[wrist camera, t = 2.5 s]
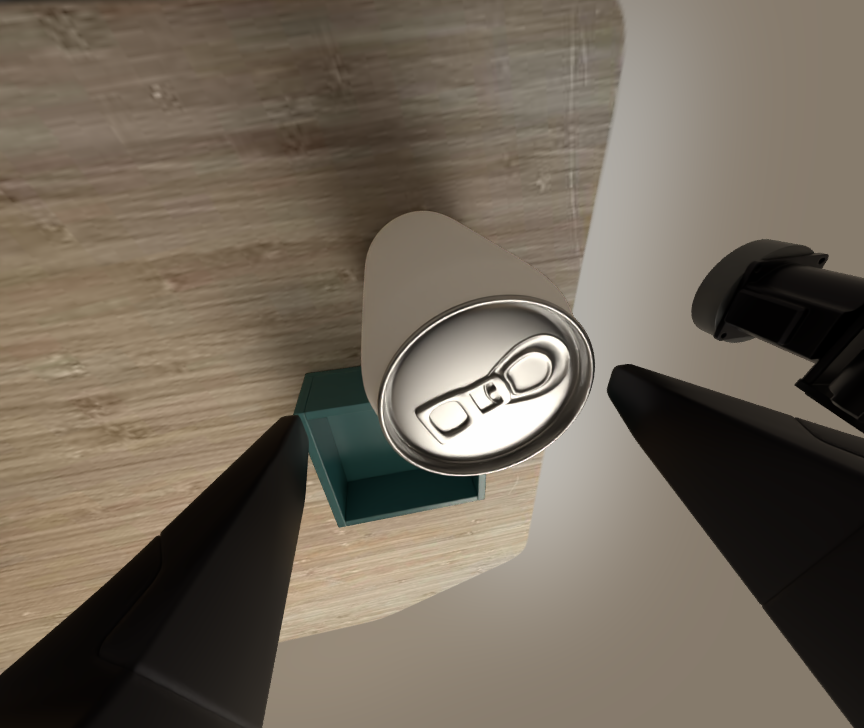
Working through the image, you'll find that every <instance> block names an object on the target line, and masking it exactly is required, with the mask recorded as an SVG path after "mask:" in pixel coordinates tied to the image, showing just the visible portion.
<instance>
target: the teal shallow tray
mask: <svg viewBox="0 0 864 728" xmlns="http://www.w3.org/2000/svg"><path fill="white" fill-rule="evenodd" d="M293 415H298V416H299V417H300V418H301V420H302V423H303V426H304V428H305V431H306V433H307V436H308V440H309V451H308V452H309V455H310V457H311V460H312V462H313V465H314V467H315V470H316V472H317V475H318V477H319V480H320V482H321V485H322V487H323V490H324V492H325V495H326V497H327V500H328V502H329V505H330V507H331V510H332V512H333V515H334V517H335V520H336V522H337V525H338V527H339V528H340V527H345V526H346V525H347V526H350V525H355V524H361V523H366V522H371V521H376V520H381V519H386V518H391V517H396V516H401V515H407V514H412V513H417V512H422V511H427V510H432V509H437V508H442V507H447V506H453V505H458V504H463V503H468V502H473V501H477V500H483V499H485V487H486V474H483V475H475V476H448V475H441V474H436V473H432V472H429V471H426V470H423V469H421V468H419V467H416V466H414V465H413V464H411V463H409V462H408V461H406V460H405V459H403V458H402V457H401V456H400V455H399V454H398V453H397V452H396V451H395V450H394V449H393V448H392V447H391V446H390V444H389V443H388V441H387V440H386V438H385V436H384V434H383V432H382V429H381V426H380V423H379V418H378V415H377V414H376V413H375V411H374V409H373V408H372V406H371V404H370V402H369V400H368V398H367V395H366V392H365V389H364V384H363V378H362V370H361V366H357V367H350V368H343V369H336V370H329V371H321V372H314V373H307V374H305V378H304V381H303V384H302V387H301V391H300V394H299V397H298V400H297V404H296V407H295V410H294V413H293Z"/></svg>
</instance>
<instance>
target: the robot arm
mask: <svg viewBox="0 0 864 728" xmlns="http://www.w3.org/2000/svg"><path fill="white" fill-rule="evenodd" d="M827 260H828V254H823V253H813V254H805V255H796V256H788V257H779V258H771V259H762V260H755V261H753V262H751V263H750V264H749V265H748V266H747V268H746V270H745V272H744V274H743V276H742V278H741V280H740V282H739V284H738V286H737V288H736V290H735V292H734V294H733V296H732V299H731V301H730V303H729V305H728V307H727V309H726V311H725V313H724V315H723V317H722V319H721V321H720V323H719V325H718V327H717V329H716V331H715V333H714V338H715V339H717V340H719V341H723V340H730V339H736V338H743V337H750V336H753V337H756V338H758V339H760V340H762V341H765V342H767V343H770V344H772V345H774V346H776V347H778V348H781V349H783V350H785V351H788V352H790V353H792V354H794V355H797V356H799V357H801V358H804V359H806V360H808V361H811V362H813V363H815V365H814V366H813V367H812V368H811V369H810V370H809V371H808V372H807V374H806V375H805V376H804V377H803V378H802V379H799V380H798V381H797V382H796V383H795V386H796V387H798V388H799V389H801V390H802V391H804V392H805V394H806V395H807V396H809V397H810V398H812V399H813V400H815V401H816V402H818V403H819V404H821V405H822V406H824V407H825V408H827V409H828V410H830V411H831V412H833V413H834V414H836V415H837V416H839V417H840V418H842V419H843V420H845V421H846V422H847V423H849V424H850V425H852V426H854V427H855V428H856V429H858V430H859V431H861V432H863V433H864V278H861V277H856V276H852V275H847V274H843V273H838V272H834V271H829V270H825V269H822V268H823V266H824V264H825V263H826V261H827ZM607 393H608V396H609V398H610V400H611V401H612V403H613V404H614V406H615V408H616V409H617V411H618V412H619V414H620V416H621V417H622V419H623V421H624V422H625V424H626V425H627V427H628V429H629V430H630V432H631V433H632V435H633V437H634V438H635V440H636V441H637V442H638V444H639V445H640V447H641V448H642V449H643V450H644V452H645V453H646V454H647V456H648V457H649V458H650V460H651V461H652V462H653V464H654V465H655V466H656V468H657V469H658V470H659V471H660V473H661V474H662V475H663V477H664V478H665V479H666V481H667V482H668V483H669V485H670V486H671V487H672V489H673V490H674V491H675V493H676V494H677V495H678V497H679V498H680V499H681V501H682V502H683V503H684V504H685V506H686V507H687V508H688V510H689V511H690V512H691V514H692V515H693V516H694V518H695V519H696V520H697V522H698V523H699V524H700V525H701V527H702V528H703V529H704V531H705V532H706V533H707V535H708V536H709V537H710V539H711V540H712V541H713V543H714V544H715V545H716V547H717V548H718V549H719V550H720V552H721V553H722V554H723V556H724V557H725V558H726V560H727V561H728V562H729V564H730V565H731V566H732V568H733V569H734V570H735V572H736V573H737V574H738V576H739V577H740V578H741V580H742V581H743V582H744V583H745V585H746V586H747V587H748V589H749V590H750V591H751V593H752V594H753V595H754V596H755V598H756V599H757V601H758V602H759V603H760V604H761V605H762V607H763V609H764V610H765V612H766V613H767V614H768V616H769V617H770V618H771V620H772V621H773V622H774V623H775V624H776V626H777V627H778V629H779V630H780V631H781V633H782V634H783V635H784V637H785V638H786V639H787V641H788V642H789V643H790V644H791V646H792V647H793V649H794V650H795V651H796V652H797V653H798V655H799V656H800V658H801V659H802V660H803V661H804V663H805V664H806V666H807V667H808V668H809V670H810V671H811V672H812V673H813V675H814V676H815V678H816V679H817V680H818V682H819V683H820V684H821V685H822V687H823V688H824V689H825V691H826V692H827V693H828V695H829V696H830V697H831V699H832V700H833V701H834V702H835V704H836V705H837V707H838V708H839V709H840V710H841V712H842V713H843V714H844V716H845V717H846V718H847V720H848V721H849V722H850V724H851V725H852V726H853V727H854V728H864V438H861V437H857V436H854V435H851V434H847V433H844V432H841V431H838V430H834V429H831V428H828V427H825V426H822V425H818V424H816V423H812V422H809V421H806V420H803V419H799V418H794V417H792V416H790V415H787V414H784V413H781V412H778V411H775V410H772V409H769V408H766V407H763V406H759V405H756V404H753V403H750V402H747V401H744V400H741V399H738V398H734V397H731V396H728V395H725V394H722V393H719V392H716V391H713V390H710V389H707V388H703V387H700V386H697V385H694V384H691V383H688V382H685V381H682V380H678V379H675V378H672V377H669V376H666V375H663V374H660V373H657V372H654V371H651V370H648V369H644V368H641V367H638V366H635V365H632V364H625V365H618V366H616V367H615V368H614V369H613V371H612V374H611V377H610V380H609V383H608V387H607ZM308 451H309V440H308V436H307V433H306V431H305V428H304V426H303V423H302V420H301V418H300V417H299V416H298V415H290V416H284V417H281V418H280V419H279V420H278V421H277V422H276V423H275V424H274V425H273V426H272V427H270V428H269V429H268V430H267V431H266V432H265V433H264V434H263V435H262V436H261V437H260V438H259V439H258V440H257V441H256V442H255V443H254V444H253V445H252V446H251V447H250V448H248V449H247V450H246V451H245V452H244V453H243V454H242V455H241V456H240V457H239V458H238V459H237V460H236V461H235V462H234V463H233V464H232V465H231V466H230V467H229V468H228V469H226V470H225V471H224V472H223V473H222V474H221V475H220V476H219V477H218V478H217V479H216V480H215V481H214V482H213V483H212V484H211V485H210V486H209V487H208V488H207V489H206V490H204V491H203V492H202V493H201V494H200V495H199V496H198V497H197V498H196V499H195V500H194V501H193V502H192V503H191V504H190V505H189V506H188V507H187V508H186V509H185V510H184V511H182V512H181V513H180V514H179V515H178V516H177V517H176V518H175V519H174V520H173V521H172V522H171V523H170V524H169V525H168V526H167V527H166V528H165V529H164V530H163V531H162V532H161V534H160V536H156V537H155V538H154V539H153V540H152V541H151V542H150V543H149V544H148V545H147V546H146V547H145V548H144V549H142V550H141V551H140V552H139V553H138V554H137V555H136V556H135V557H134V558H133V559H132V560H131V561H130V562H129V563H127V564H126V565H125V566H124V567H123V568H122V569H121V570H120V571H119V572H118V573H117V574H116V575H115V576H113V577H112V578H111V579H110V580H109V581H108V582H107V583H106V584H105V585H104V586H102V587H101V588H100V589H99V590H98V591H97V592H96V593H94V594H93V595H92V596H91V597H90V598H89V599H88V600H86V601H85V602H84V603H83V604H82V605H81V606H80V607H78V608H77V609H76V610H75V611H74V612H73V613H72V614H71V615H69V616H68V617H67V618H66V619H65V620H64V621H62V622H61V623H60V624H59V625H58V626H57V627H55V628H54V629H53V630H52V631H51V632H50V633H48V634H47V635H46V636H45V637H44V638H43V639H41V640H40V641H39V642H38V643H37V644H36V645H34V646H33V647H32V648H31V649H30V650H29V651H28V652H26V653H25V654H24V655H23V656H22V657H21V658H19V659H18V660H17V661H16V662H15V663H14V664H12V665H11V666H10V667H9V668H8V669H7V670H5V671H4V672H3V673H2V674H1V675H0V728H262V725H263V720H264V715H265V709H266V704H267V699H268V694H269V688H270V683H271V678H272V672H273V667H274V662H275V657H276V651H277V646H278V641H279V636H280V630H281V625H282V620H283V614H284V609H285V604H286V598H287V593H288V588H289V583H290V577H291V572H292V567H293V561H294V556H295V551H296V545H297V540H298V535H299V530H300V524H301V519H302V514H303V508H304V502H305V494H306V481H307V466H308Z"/></svg>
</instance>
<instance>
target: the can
mask: <svg viewBox="0 0 864 728" xmlns="http://www.w3.org/2000/svg"><path fill="white" fill-rule="evenodd" d="M361 370H362V378H363V384H364V389H365V392H366V395H367V398H368V400H369V402H370V404H371V406H372V408H373V409H374V411H375V413H376V414H377V415H378V418H379V423H380V426H381V429H382V432H383V434H384V436H385V438H386V440H387V441H388V443H389V444H390V446H391V447H392V448H393V449H394V450H395V451H396V452H397V453H398V454H399V455H400V456H401V457H402V458H403V459H405V460H406V461H408V462H409V463H411V464H413V465H414V466H416V467H419V468H421V469H423V470H426V471H429V472H432V473H436V474H441V475H448V476H475V475H483V474H488V473H493V472H497V471H500V470H503V469H506V468H509V467H512V466H514V465H517V464H519V463H521V462H523V461H525V460H527V459H529V458H531V457H533V456H535V455H536V454H538V453H539V452H541V451H542V450H544V449H545V448H547V447H548V446H549V445H551V444H552V443H553V442H554V441H556V440H557V439H558V438H559V437H560V436H561V435H562V434H563V433H564V432H565V431H566V430H567V429H568V428H569V427H570V425H571V424H572V423H573V422H574V420H575V419H576V418H577V416H578V415H579V413H580V412H581V410H582V408H583V407H584V405H585V403H586V400H587V398H588V396H589V394H590V391H591V388H592V383H593V379H594V372H595V359H594V352H593V348H592V345H591V342H590V339H589V337H588V335H587V333H586V332H585V330H584V329H583V327H582V325H581V324H580V323H579V322H578V321H577V320H576V319H575V318H574V316H573V313H572V311H571V308H570V306H569V304H568V302H567V300H566V298H565V297H564V295H563V294H562V292H561V291H560V290H559V289H558V288H557V286H556V285H555V284H554V283H553V282H552V281H550V280H549V279H548V278H547V277H546V276H545V275H544V274H542V273H541V272H540V271H538V270H537V269H535V268H534V267H532V266H531V265H529V264H528V263H526V262H525V261H523V260H522V259H520V258H518V257H517V256H515V255H513V254H512V253H510V252H508V251H507V250H505V249H503V248H502V247H500V246H498V245H497V244H495V243H493V242H492V241H490V240H488V239H487V238H485V237H483V236H482V235H480V234H478V233H477V232H475V231H473V230H471V229H470V228H468V227H466V226H464V225H463V224H461V223H459V222H457V221H456V220H454V219H452V218H450V217H448V216H446V215H443V214H440V213H437V212H432V211H415V212H410V213H406V214H403V215H401V216H399V217H397V218H395V219H393V220H392V221H390V222H389V223H388V224H386V225H385V226H384V227H383V228H382V229H381V230H380V231H379V232H378V234H377V235H376V236H375V238H374V240H373V241H372V243H371V245H370V248H369V250H368V253H367V257H366V262H365V271H364V288H363V310H362V337H361Z"/></svg>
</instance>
